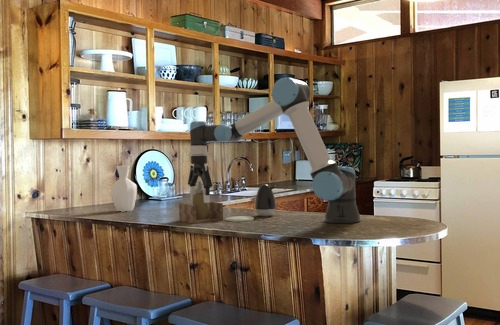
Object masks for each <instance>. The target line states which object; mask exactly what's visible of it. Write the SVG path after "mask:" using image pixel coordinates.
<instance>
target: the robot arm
mask: <svg viewBox="0 0 500 325" xmlns="http://www.w3.org/2000/svg"><path fill="white" fill-rule="evenodd" d="M311 94H312V92H311V88H310V86H309V85H308V84H307V82H305V81H303V80H300V79H296V78H293V77H288V76H287V77H281V78H279V79H278V80H277V81H276V82H275V83H274V84H273V86H272V89H271V96H272V100H271V101H270V102H268V103H266V104H263V105H262V106H261V107H259V108H257V109H256V110H253V111H252V112H250V113H248V114H247V115H245V116H243V117H242V118H239V119H238V120H236V121H235V122H232V123H231V124H213V125H212V124H211V125H209V124H207V122H206V121H205V120H204V121H202V120H200V121H198V120H197V121H191V122H190V124H189V135H190V136H189V138H190V147H189V148H190V149H189V150H190V151H189V152H190V155H191V156H190V164H191V165H190V167H189V168H190V169H189V176H188V179H187V185H188V186H189V187H190V191H189V192H190V194H189V195H190V201H192V202H193V195H194V194H196V193H195V189H197V183H198V182H197V181H198V178H199V177H200V181H201V183H202V187H203V192H204V203H209V202H210V201H211V196H210V194H211V193H210V192H211V191H210V188H211V187H213V182H212V178H211V174H210V172H209V171H210V169H209V165H206V164H208V156H207V155H208V146H207V145H208V143H209V142H210V143H218V142H219V143H220V142H221V143H223V142H226V143H227V142H229V143H230V142H231V143H235V142H239V141H240V140H242V138H243V137H244V136H245V135H247V134H249V133H251V132H253V131H254V130H257V129H258V128H261V127H263V126H265V125H266V124H268V123H270V122H271V121H273V120H275V119H277V118H278V117H280V116H282V115H284V116H287V117H288V118H289V119H290V122H291V125H292V127H293V129H294V132H295V134H296V136H297V138H298V140H299V143H300V145H301V147H302V149H303V151H304V154H305V157H306V159H307V160H308V163H309V166H310V167H311V171H310V173H309V174H310V177H311V179H312V184H311V185H312V186H311V188H312V190H313V192H314V194H315V196H316V197H318V198H319V199H320V200H323V201H328V203H327V207H326V211H325V214H324V222H326V223H331V224H350V223H351V224H354V223H358V222H361V214H360V213H359V212H360V211H359V209H358V205H357V203H356V202H357V200H356V199H357V198H356V196H357V194H356V171H355V168H353V167H351V166H339V165H338V163H337V162H336V161H334V160H332V159H331V157H330V154H329V152H328V150H327V148H326V145H325V144H324V141H323V139H322V136H321V134H320V132H319V130H318V128H317V126H316V124H315V121H314V118H313V116H312V114H311V112H310V110H309V106H310V99H311V96H312V95H311Z"/></svg>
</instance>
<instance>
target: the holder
mask: <svg viewBox="0 0 500 325" xmlns="http://www.w3.org/2000/svg"><path fill="white" fill-rule="evenodd" d="M223 205H224V204H223V202H218V201H211V200H210V202H209V210H210V213H209V217H208V219H204V220H196V205H193V204H189V203H184V202H182V203H181V202H180V203H178V211H179V214H178V215H179V221H181V222H184V223H189V224H193V225H194V224H202V223H203V224H204V223H213V222H220V221H221V222H222V221H224V209H223V208H224V207H223Z"/></svg>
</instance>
